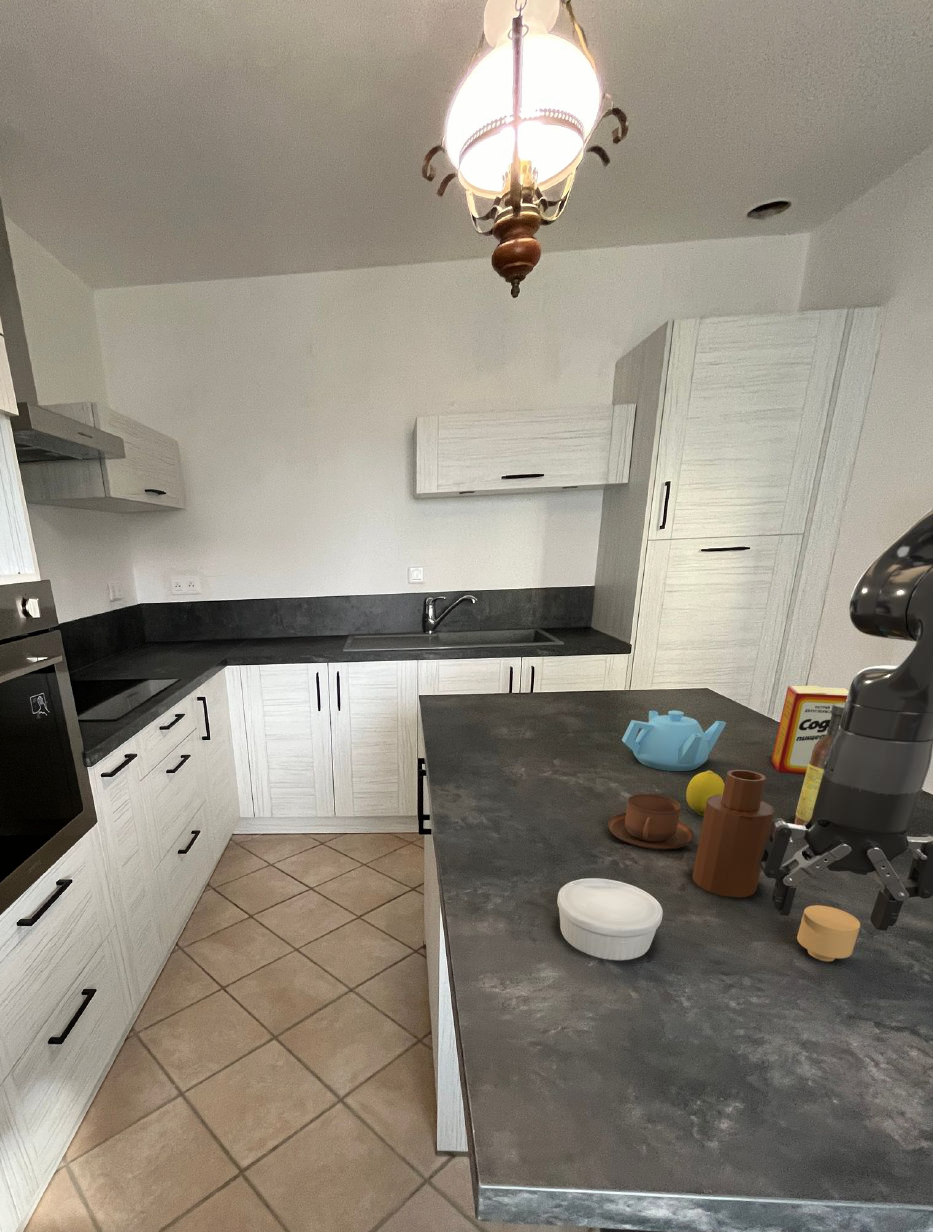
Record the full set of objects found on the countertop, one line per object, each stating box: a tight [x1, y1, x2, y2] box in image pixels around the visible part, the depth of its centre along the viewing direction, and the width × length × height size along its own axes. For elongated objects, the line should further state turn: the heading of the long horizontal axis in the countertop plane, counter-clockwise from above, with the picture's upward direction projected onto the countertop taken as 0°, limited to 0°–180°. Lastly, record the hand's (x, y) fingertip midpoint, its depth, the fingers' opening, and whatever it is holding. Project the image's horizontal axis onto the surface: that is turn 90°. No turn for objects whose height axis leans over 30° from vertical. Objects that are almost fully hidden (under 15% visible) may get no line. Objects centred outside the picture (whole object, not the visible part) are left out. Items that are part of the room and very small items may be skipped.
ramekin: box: [556, 877, 664, 961], centre depth 71 cm, size 11×11×5 cm
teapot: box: [621, 710, 727, 772], centre depth 127 cm, size 15×15×11 cm
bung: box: [796, 904, 861, 962], centre depth 67 cm, size 5×5×6 cm
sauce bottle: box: [794, 703, 845, 826], centre depth 94 cm, size 6×6×20 cm
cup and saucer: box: [607, 793, 695, 851], centre depth 95 cm, size 12×12×6 cm
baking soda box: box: [770, 685, 850, 775], centre depth 120 cm, size 10×6×16 cm
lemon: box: [685, 770, 725, 817], centre depth 102 cm, size 6×6×8 cm
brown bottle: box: [692, 769, 776, 898], centre depth 79 cm, size 7×7×16 cm
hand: (829, 918), depth 66 cm, fingers open, 8 cm apart
